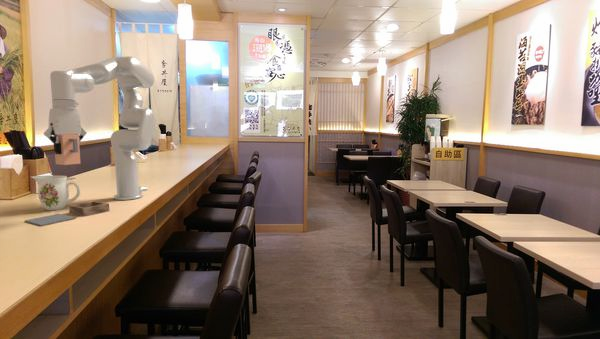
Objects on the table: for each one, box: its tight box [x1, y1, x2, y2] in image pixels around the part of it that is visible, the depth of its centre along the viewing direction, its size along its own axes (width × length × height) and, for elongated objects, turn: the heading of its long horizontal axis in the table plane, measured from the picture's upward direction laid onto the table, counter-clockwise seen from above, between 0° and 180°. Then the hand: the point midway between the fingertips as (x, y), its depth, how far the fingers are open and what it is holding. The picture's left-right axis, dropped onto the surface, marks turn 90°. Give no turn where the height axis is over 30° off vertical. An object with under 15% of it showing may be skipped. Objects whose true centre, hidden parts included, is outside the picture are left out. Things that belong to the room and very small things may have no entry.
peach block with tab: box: [54, 134, 82, 166], centre depth 155 cm, size 6×9×11 cm, turn 58°
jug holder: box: [68, 200, 110, 217], centre depth 165 cm, size 10×10×3 cm
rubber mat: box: [24, 213, 77, 227], centre depth 152 cm, size 12×12×1 cm
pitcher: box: [30, 174, 81, 211], centre depth 171 cm, size 11×18×14 cm, turn 102°
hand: (67, 152), depth 156 cm, fingers closed on peach block with tab, 6 cm apart
